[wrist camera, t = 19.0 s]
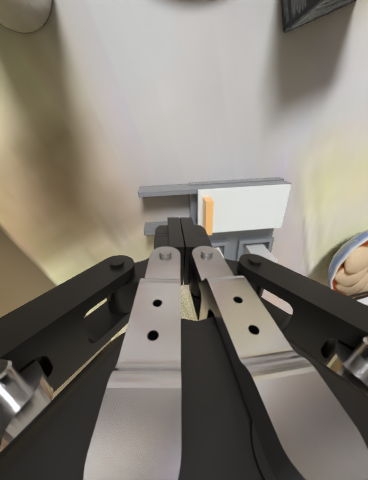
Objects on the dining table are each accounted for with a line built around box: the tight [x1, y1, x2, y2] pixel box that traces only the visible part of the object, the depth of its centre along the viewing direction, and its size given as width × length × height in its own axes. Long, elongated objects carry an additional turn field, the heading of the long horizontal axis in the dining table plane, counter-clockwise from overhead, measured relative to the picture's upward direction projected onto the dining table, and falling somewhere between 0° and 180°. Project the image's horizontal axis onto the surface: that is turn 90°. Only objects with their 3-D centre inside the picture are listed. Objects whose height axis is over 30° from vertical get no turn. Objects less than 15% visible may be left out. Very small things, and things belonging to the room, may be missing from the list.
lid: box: [197, 184, 291, 235], centre depth 35 cm, size 16×8×4 cm, turn 92°
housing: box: [138, 178, 291, 264], centre depth 39 cm, size 27×20×8 cm
